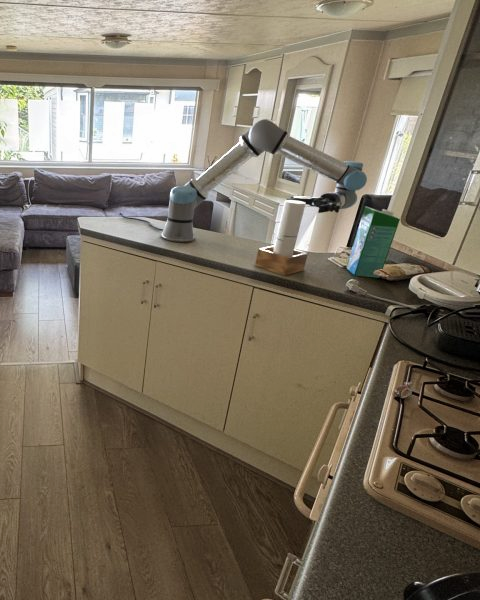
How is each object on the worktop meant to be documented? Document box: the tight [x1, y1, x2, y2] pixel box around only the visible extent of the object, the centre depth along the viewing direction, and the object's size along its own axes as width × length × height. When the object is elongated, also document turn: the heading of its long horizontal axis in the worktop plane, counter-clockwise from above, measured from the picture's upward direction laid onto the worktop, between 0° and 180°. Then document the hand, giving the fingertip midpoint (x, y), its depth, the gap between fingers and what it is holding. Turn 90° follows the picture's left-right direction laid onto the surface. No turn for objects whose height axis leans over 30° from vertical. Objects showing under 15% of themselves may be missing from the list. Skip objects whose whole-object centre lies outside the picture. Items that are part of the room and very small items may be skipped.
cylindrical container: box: [273, 199, 306, 257], centre depth 164 cm, size 7×7×25 cm
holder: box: [254, 244, 309, 277], centre depth 168 cm, size 13×13×7 cm
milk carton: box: [345, 206, 401, 279], centre depth 163 cm, size 9×9×25 cm
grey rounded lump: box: [394, 381, 413, 399], centre depth 93 cm, size 3×2×4 cm
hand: (302, 205), depth 168 cm, fingers open, 13 cm apart
